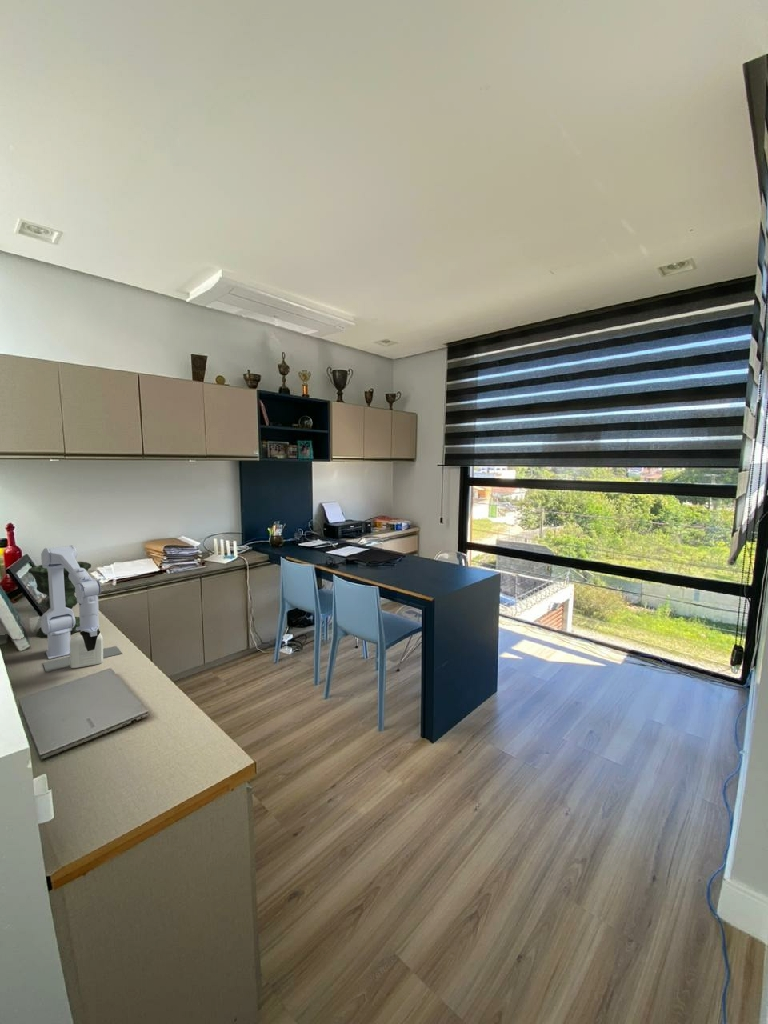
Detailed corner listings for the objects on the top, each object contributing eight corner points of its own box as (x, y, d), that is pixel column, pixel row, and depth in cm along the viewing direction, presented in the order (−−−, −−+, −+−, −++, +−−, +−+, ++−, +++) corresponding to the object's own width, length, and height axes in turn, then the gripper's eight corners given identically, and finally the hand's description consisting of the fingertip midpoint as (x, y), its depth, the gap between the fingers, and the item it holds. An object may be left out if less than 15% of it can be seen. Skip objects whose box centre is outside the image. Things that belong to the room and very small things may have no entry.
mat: (42, 663, 159) (42, 662, 159) (116, 646, 175) (116, 645, 175) (46, 672, 152) (46, 671, 152) (122, 653, 169) (122, 652, 169)
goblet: (30, 629, 193) (27, 565, 191) (89, 618, 208) (87, 559, 206) (32, 643, 177) (29, 574, 174) (96, 631, 192) (94, 567, 190)
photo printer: (103, 658, 163) (102, 628, 161) (103, 663, 160) (102, 633, 158) (70, 664, 157) (69, 633, 155) (69, 670, 154) (68, 638, 152)
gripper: (72, 611, 154) (73, 647, 155) (79, 621, 144) (80, 659, 145) (94, 607, 159) (96, 642, 160) (103, 616, 148) (104, 653, 150)
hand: (90, 650), depth 153 cm, fingers closed
